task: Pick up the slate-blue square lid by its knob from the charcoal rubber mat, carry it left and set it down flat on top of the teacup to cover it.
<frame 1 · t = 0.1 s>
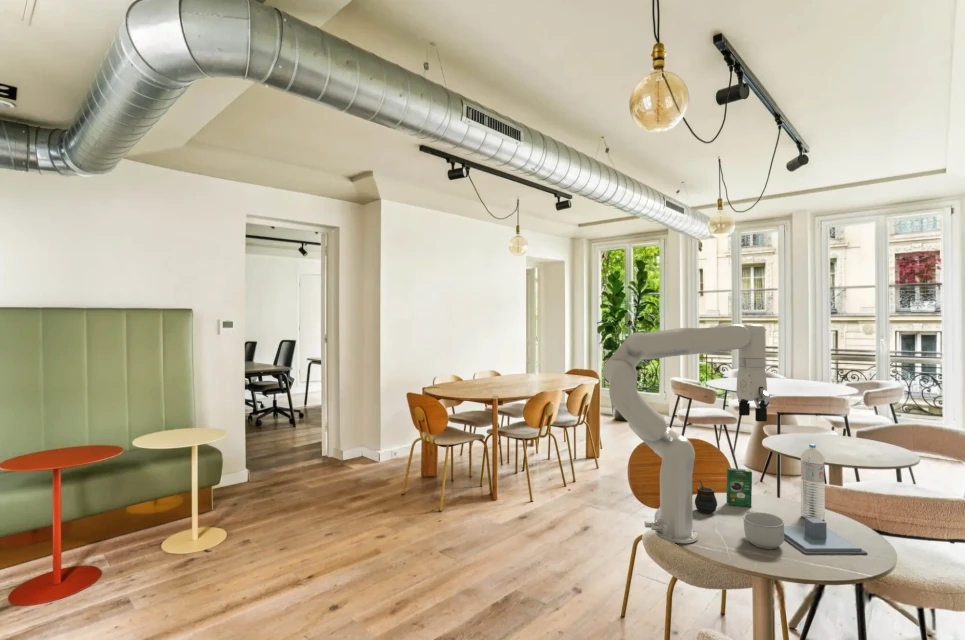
hand: (752, 418, 157), 37 cm above the table, tool pointing down, fingers open, 9 cm apart
teacup: (761, 543, 152), on the table
water bottle: (812, 518, 171), on the table
mate gourd: (705, 512, 177), on the table
mat: (815, 540, 153), on the table
coffee box: (739, 505, 183), on the table
lid: (815, 529, 153), on the mat
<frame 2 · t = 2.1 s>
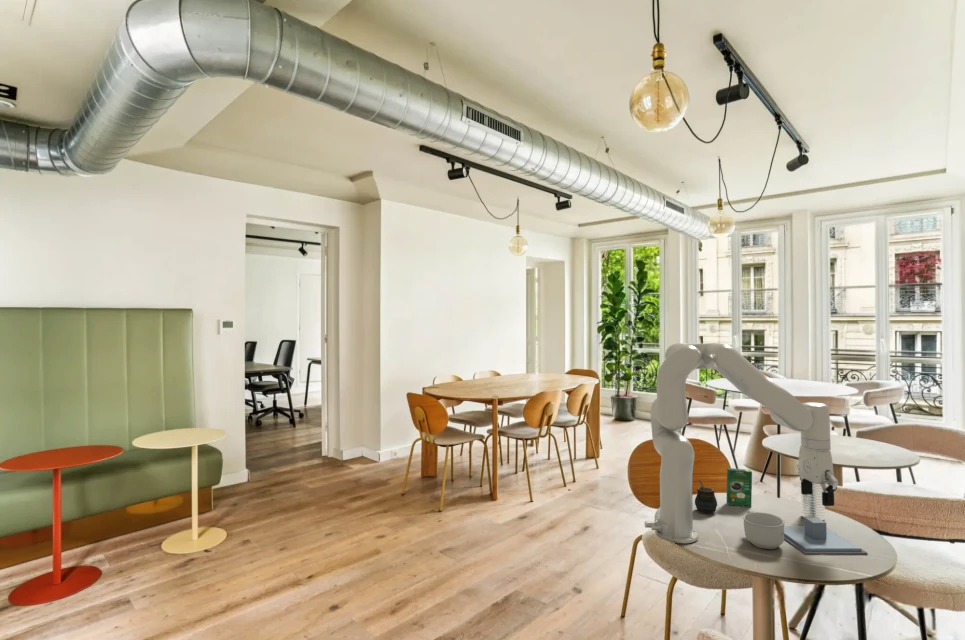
hand: (817, 499, 153), 13 cm above the table, tool pointing down, fingers open, 9 cm apart
nothing on the table moved.
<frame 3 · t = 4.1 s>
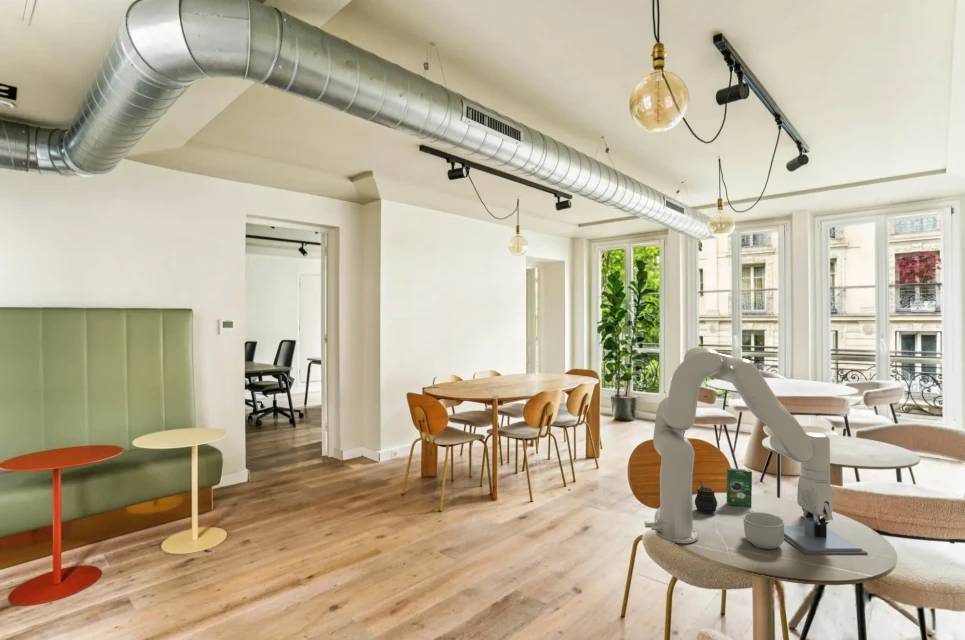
hand: (815, 533, 153), 2 cm above the table, tool pointing down, fingers closed on lid, 4 cm apart
lid: (815, 529, 153), on the mat, touching gripper
everything else where it was.
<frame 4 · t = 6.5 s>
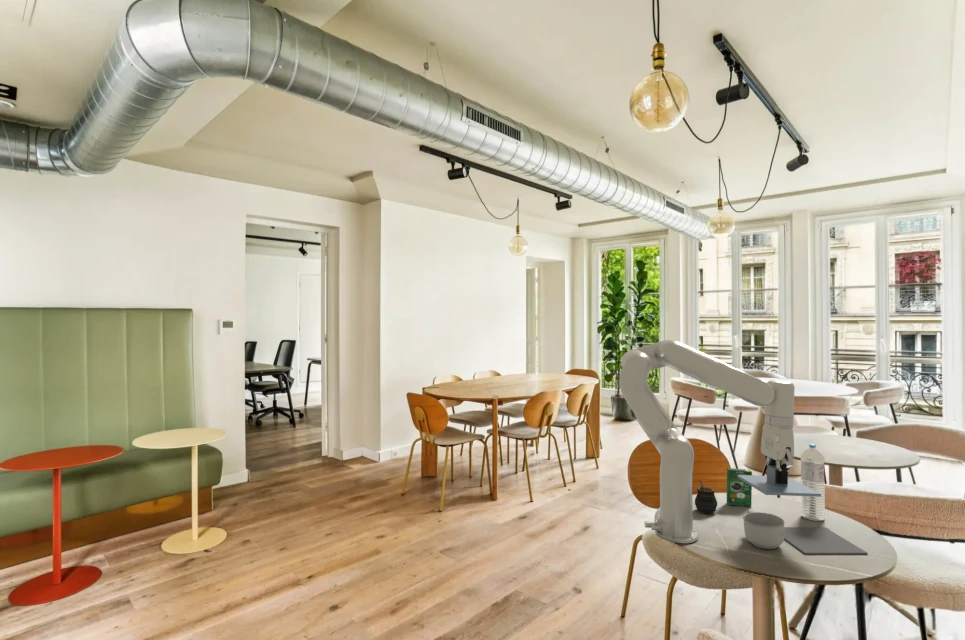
hand: (776, 480, 152), 19 cm above the table, tool pointing down, fingers closed on lid, 4 cm apart
lid: (777, 476, 152), point 20 cm above the table, touching gripper
everything else where it was.
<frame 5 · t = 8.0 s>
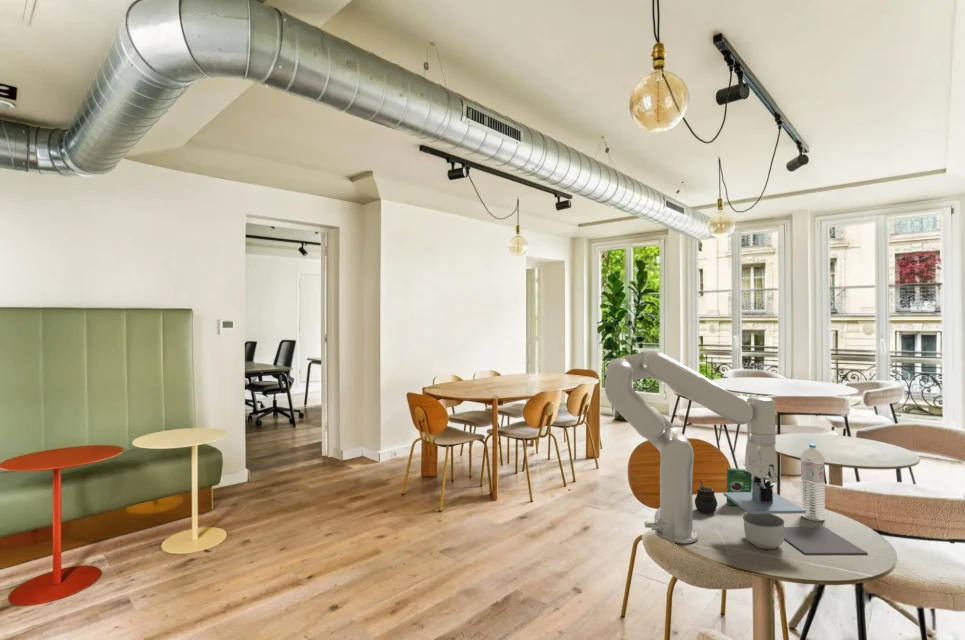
hand: (762, 497, 152), 13 cm above the table, tool pointing down, fingers closed on lid, 4 cm apart
lid: (762, 494, 152), point 15 cm above the table, touching gripper
everything else where it was.
when the fingers open (11 cm above the table, at t = 9.2 s): lid drops 1 cm, resting on teacup.
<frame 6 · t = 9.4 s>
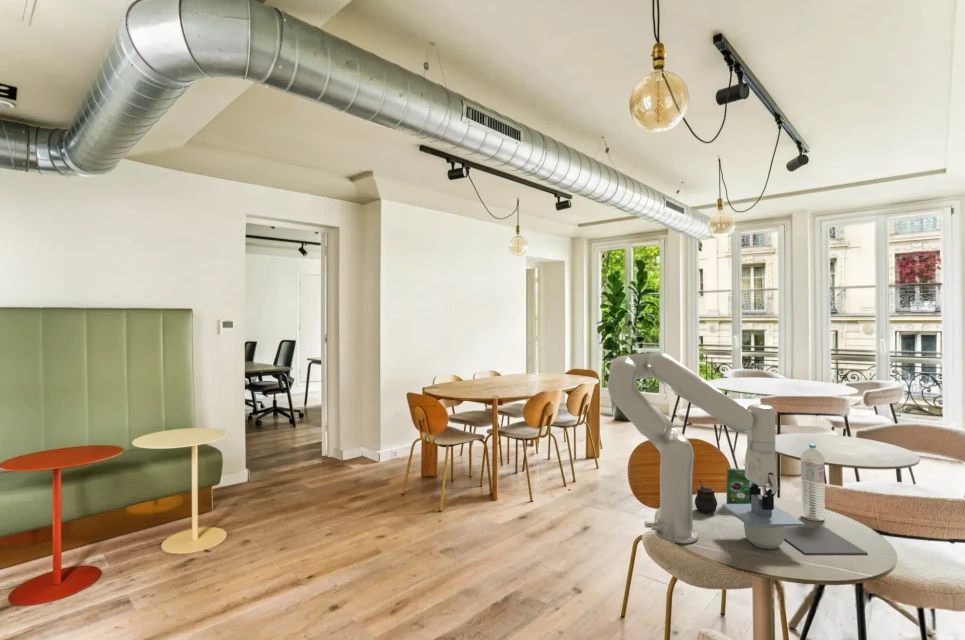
hand: (761, 504, 152), 11 cm above the table, tool pointing down, fingers open, 6 cm apart
teacup: (761, 543, 152), on the table, touching lid
lid: (761, 506, 152), point 11 cm above the table, touching teacup
everything else where it was.
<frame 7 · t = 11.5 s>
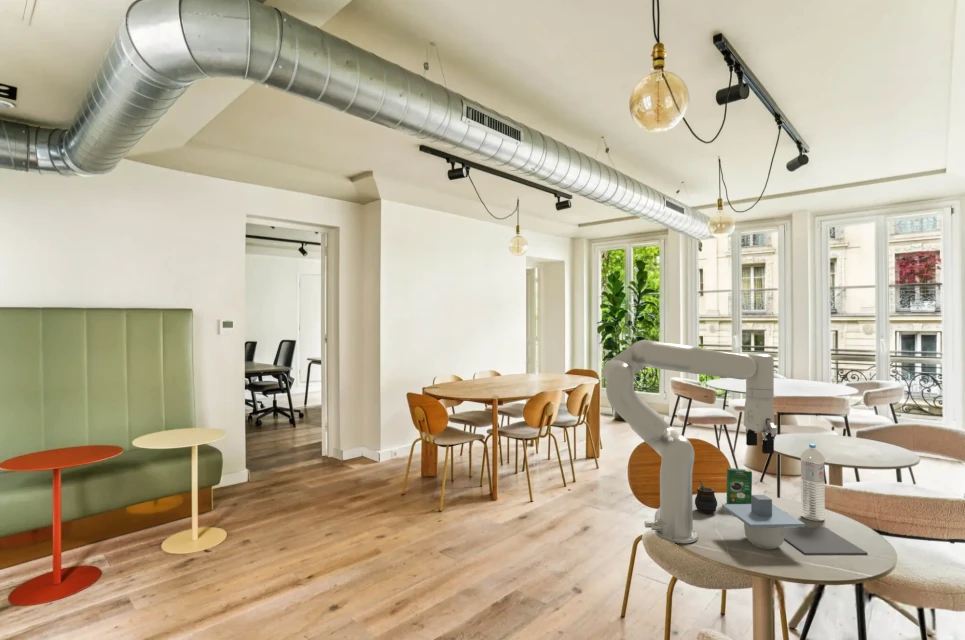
hand: (759, 449, 155), 27 cm above the table, tool pointing down, fingers open, 9 cm apart
nothing on the table moved.
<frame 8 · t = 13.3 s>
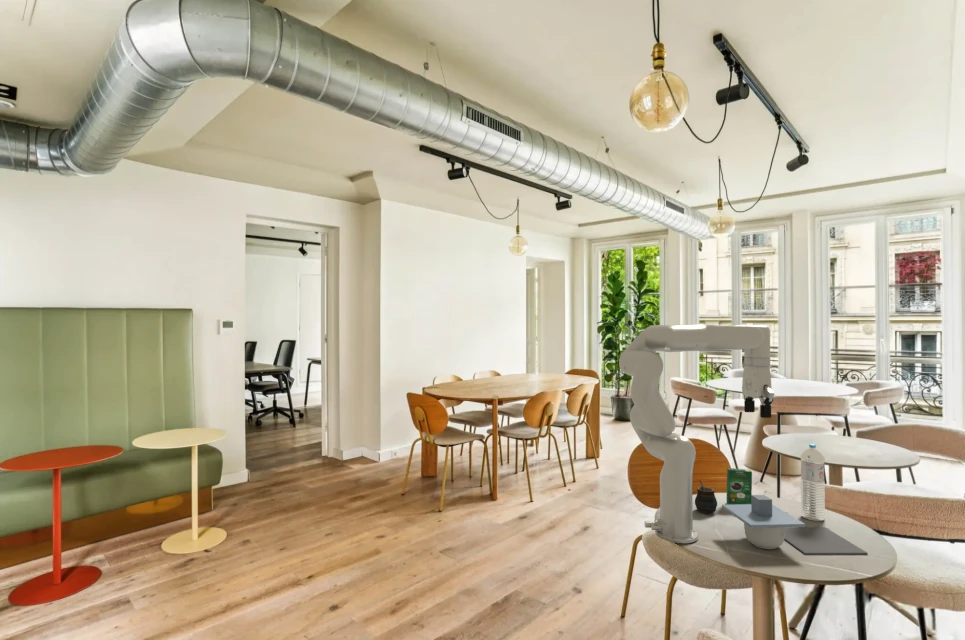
hand: (757, 414, 165), 36 cm above the table, tool pointing down, fingers open, 9 cm apart
nothing on the table moved.
at the end: lid inside the target area on the teacup (0.1 cm from its centre), point 11.1 cm above the teacup's base; lid tilted 0°; lid touching teacup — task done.
